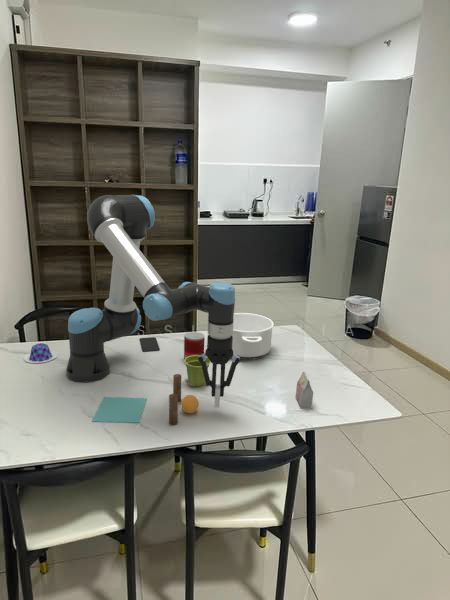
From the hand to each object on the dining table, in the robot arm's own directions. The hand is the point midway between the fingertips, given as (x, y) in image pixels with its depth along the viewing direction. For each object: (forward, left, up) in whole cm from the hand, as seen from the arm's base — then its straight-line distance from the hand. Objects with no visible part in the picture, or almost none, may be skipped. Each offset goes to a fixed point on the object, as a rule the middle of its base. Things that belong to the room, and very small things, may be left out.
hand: (217, 404), depth 130 cm
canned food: (-9, +37, -3) cm, 38 cm away
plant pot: (-7, +19, -3) cm, 20 cm away
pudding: (-69, +36, -3) cm, 78 cm away
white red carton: (+29, +7, -3) cm, 30 cm away
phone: (-29, +52, -3) cm, 60 cm away
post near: (-13, -6, -3) cm, 15 cm away
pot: (+12, +48, -3) cm, 49 cm away
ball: (-8, 0, 0) cm, 9 cm away
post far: (-13, +6, -3) cm, 15 cm away
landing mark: (-30, 0, -3) cm, 30 cm away
